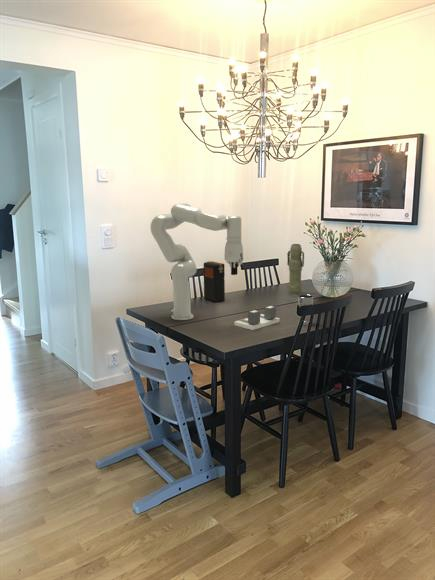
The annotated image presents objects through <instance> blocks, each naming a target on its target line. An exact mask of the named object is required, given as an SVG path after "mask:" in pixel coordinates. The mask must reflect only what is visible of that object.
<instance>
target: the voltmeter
mask: <svg viewBox="0 0 435 580" xmlns="http://www.w3.org/2000/svg"><path fill="white" fill-rule="evenodd" d="M225 277H226V276H225V264H224V263H221V262H217V261H210V260H209V261H205V262H204V263H203V297H204V299H206V300H209V301H212V302H215V303H218V302H225V300H226V297H225V296H226V295H225V293H226V291H225V289H226V288H225V286H226V285H225V282H226V281H225Z"/></svg>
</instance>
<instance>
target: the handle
mask: <svg viewBox="0 0 435 580" xmlns="http://www.w3.org/2000/svg"><path fill="white" fill-rule="evenodd" d="M263 309H264V312H263V313H264V314H263V315H264V318H265V319H269V320H270V319H274V318H277V307H276V306H273V305H269V306H265V307H264V308H263Z"/></svg>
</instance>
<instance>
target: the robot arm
mask: <svg viewBox="0 0 435 580" xmlns="http://www.w3.org/2000/svg"><path fill="white" fill-rule="evenodd" d="M184 223H188V224H189V223H190V224H193V225H195V226H198V227H200V228H202V229H205V230H210V231H214V232H215V231H217V232H218V231H223V230H226V238H225V239H226V242H225V246H224V261H225V262H226V263H227V264H228V265H229V266H230V275H231V276H236V275H238V268H239V267H240V265H243V261H244V248H243V247H244V246H243V242H242V217H241V216H239V215H225V214H224V215H222V214H221V215H212V214H208V213H205V212H202V210H201V208H197V207H194V206H191V205H190V204H188V203H176V204H174V205H173V206H172V207H171V208H170V213H168V214H167V213H166V214H165V213H164V214H158V215H156V216H154V217H153V219H152V220H151V223H150V233H151V235H152V237H153V238H154V240H155V242H156V243H157V245H158V248H159V249H160V251H161V253H162V255H163V257H164V258H165V260H166V261H167V263H171V264H173V263H175V264H174V265H173V266H172V268H171V270H170V275H171V279H172V289H173V291H172V293H173V295H172V296H173V308H172V309H171V310H170V312H172V313H173V314H171V316H170V317H171V319H172V320H174V321H188V320H192V319H194V314H193V313H192V312H191V311H192V310H191V284H190V280H189V279H190V278H191V277H193V276H196V274H197V270H198V269H197V265H196V262H195V260H194V259H193V257H192V255H191V253H190V251H189V249H188V248H187V247H186V246H185V245H183V244H180V243H179V244H176V243H175V242H174V239H173V238H172V236H171V235H170V234H169V233H168V232H167V230H172V229H175V228H177V227H179V226H180V225H182V224H184Z"/></svg>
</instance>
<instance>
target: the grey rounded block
mask: <svg viewBox="0 0 435 580" xmlns="http://www.w3.org/2000/svg"><path fill="white" fill-rule="evenodd" d="M260 315H261V311H259V310H255V309H254V310H250V311H247V318H248V323H250V324H257V323H260Z"/></svg>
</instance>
